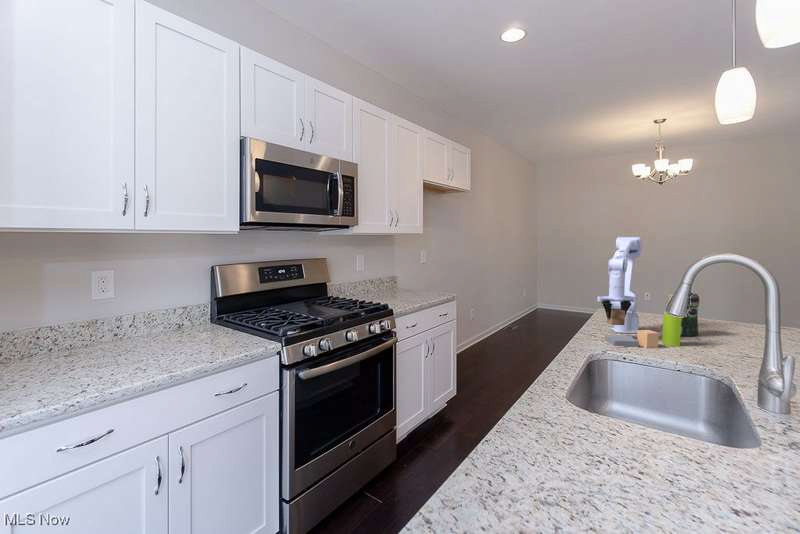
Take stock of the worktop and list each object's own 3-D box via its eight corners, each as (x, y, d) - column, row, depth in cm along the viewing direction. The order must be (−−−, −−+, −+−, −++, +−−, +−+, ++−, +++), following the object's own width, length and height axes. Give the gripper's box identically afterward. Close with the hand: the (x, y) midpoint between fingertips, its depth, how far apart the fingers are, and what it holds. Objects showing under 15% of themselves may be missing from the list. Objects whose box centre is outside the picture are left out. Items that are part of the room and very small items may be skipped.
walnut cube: (619, 322, 165) (619, 308, 165) (624, 325, 160) (625, 311, 160) (606, 322, 166) (607, 308, 165) (611, 324, 161) (612, 310, 160)
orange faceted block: (648, 344, 156) (648, 329, 156) (657, 347, 151) (658, 332, 151) (636, 344, 155) (637, 330, 155) (646, 348, 150) (647, 333, 150)
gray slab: (627, 342, 160) (627, 335, 160) (638, 348, 151) (638, 341, 151) (604, 341, 161) (605, 334, 161) (614, 348, 152) (614, 340, 152)
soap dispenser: (681, 343, 156) (683, 295, 155) (678, 347, 151) (681, 297, 150) (663, 340, 160) (666, 293, 159) (660, 344, 155) (663, 295, 154)
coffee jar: (685, 331, 175) (687, 291, 173) (701, 336, 167) (704, 294, 166) (666, 332, 173) (668, 292, 172) (682, 337, 165) (684, 294, 164)
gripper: (602, 287, 159) (601, 319, 160) (639, 288, 157) (638, 320, 158) (596, 285, 166) (594, 316, 167) (631, 285, 164) (630, 317, 165)
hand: (615, 318), depth 163 cm, fingers closed on walnut cube, 5 cm apart
